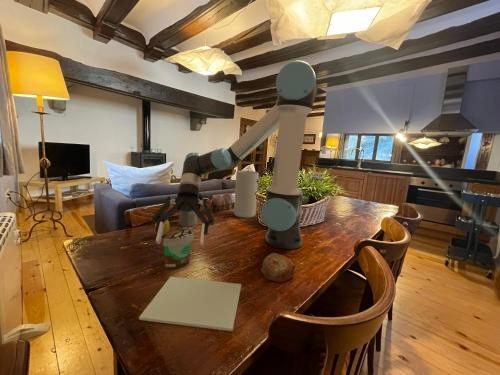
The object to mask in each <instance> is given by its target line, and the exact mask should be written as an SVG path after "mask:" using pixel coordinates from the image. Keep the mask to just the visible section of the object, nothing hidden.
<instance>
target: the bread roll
mask: <svg viewBox="0 0 500 375" xmlns="http://www.w3.org/2000/svg"><path fill="white" fill-rule="evenodd" d="M295 268H296V266H295V265H294V263H293V261H292V259H290V258H289V257H287V256H286V255H283V254H279V253H277V252H271V253H270V254H268V255H267V256H266V257H265V258H264V259H263V262H262V267H261V269H260V271H261V273H262V275H263V276H264V277H265V278H266V279H267V280H269V281H272V282H285V281H289V280H291V279H292V277H293V276H294V274H295Z"/></svg>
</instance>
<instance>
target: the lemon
mask: <svg viewBox="0 0 500 375" xmlns="http://www.w3.org/2000/svg"><path fill="white" fill-rule="evenodd" d="M156 224H157V223H154V229H155V228H156ZM163 224H164V228H163V233H162V237H163V236H165V235H166V234H167V233H169V231H170V221H169V219H168V220H166V221H165V222H164V223H163Z"/></svg>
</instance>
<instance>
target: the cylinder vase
mask: <svg viewBox="0 0 500 375" xmlns="http://www.w3.org/2000/svg"><path fill="white" fill-rule="evenodd" d="M259 176H260V175H259V172H258V171H252V170H236V175H235V187H234V188H235V190H234V206H233V214H234V216H236V217H237V218H238V217H239V218H244V219H249V218H253V217H255V216H256V214H257V200H258V199H256V195H255V192H256V191H257V192H258V187H259V186H258V185H259V182H258V183H257V182H256V181H257V179H258V180H259Z"/></svg>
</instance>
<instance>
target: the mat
mask: <svg viewBox="0 0 500 375" xmlns="http://www.w3.org/2000/svg"><path fill="white" fill-rule="evenodd" d="M241 288H242V283H233V282H225V281H224V282H223V281H214V280H206V279H197V278H187V277H179V276H170V277H169V278H168V279H167V280H166V282H165V283H164V284H163V285H162V287H161V288H160V290H159V291H158V292H157V294H156V295H155V296H154V297H153V298H152V299H151V301H150V302H149V303H148V305H147V306H146V307H145V309H144V310H143V312H142V313H141V314H140V316H138V320H140V321H144V322H145V321H147V322H152V323H153V322H154V323H163V324H171V325H178V326H187V327H195V328H202V329H211V330H219V331H228V332H233V330H234V326H235V321H236V316H237V315H236V314H237V311H238V310H237V309H238V306H239V300H240V296H241Z"/></svg>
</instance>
